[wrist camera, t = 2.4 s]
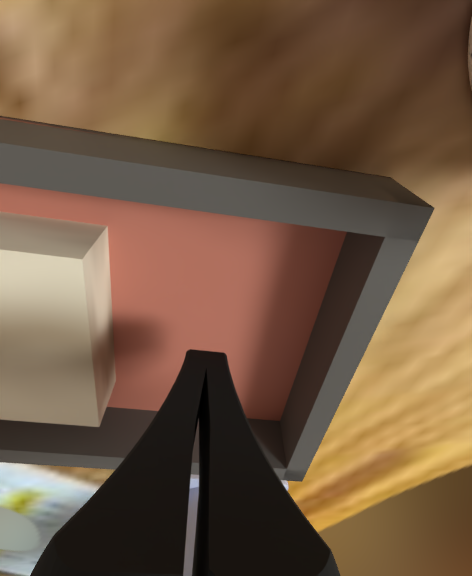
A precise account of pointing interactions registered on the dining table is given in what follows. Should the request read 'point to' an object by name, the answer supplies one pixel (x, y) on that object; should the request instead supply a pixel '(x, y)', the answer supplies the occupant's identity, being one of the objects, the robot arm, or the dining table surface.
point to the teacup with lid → (470, 54)
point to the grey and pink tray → (215, 279)
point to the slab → (55, 321)
